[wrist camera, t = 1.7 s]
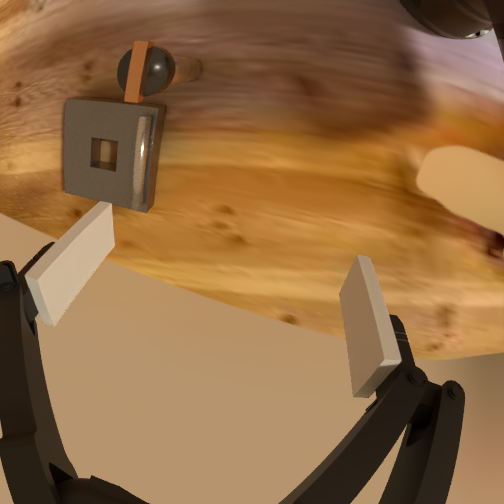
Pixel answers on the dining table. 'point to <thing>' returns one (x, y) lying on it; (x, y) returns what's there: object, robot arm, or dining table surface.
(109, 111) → the grey flat square block
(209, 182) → the dining table surface
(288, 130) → the dining table surface
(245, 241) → the dining table surface
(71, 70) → the dining table surface
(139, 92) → the key
